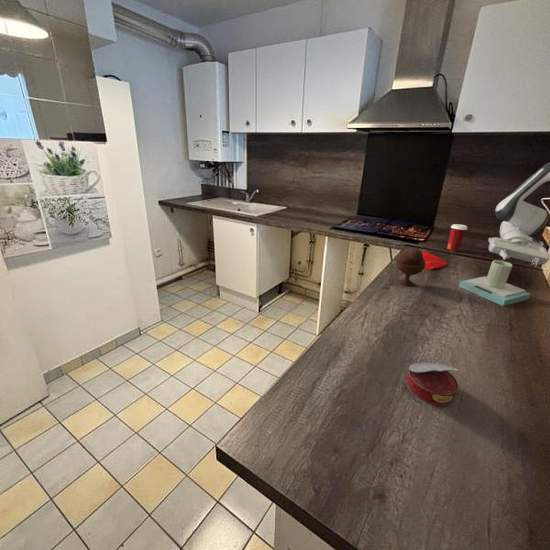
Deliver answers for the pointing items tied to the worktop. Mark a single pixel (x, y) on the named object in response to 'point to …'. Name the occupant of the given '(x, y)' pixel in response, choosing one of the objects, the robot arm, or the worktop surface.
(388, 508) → the worktop surface
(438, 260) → the cloth
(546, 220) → the robot arm
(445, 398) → the canned food
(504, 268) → the cup
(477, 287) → the scale
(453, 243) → the paper cup
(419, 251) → the ice cream bowl
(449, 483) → the worktop surface
